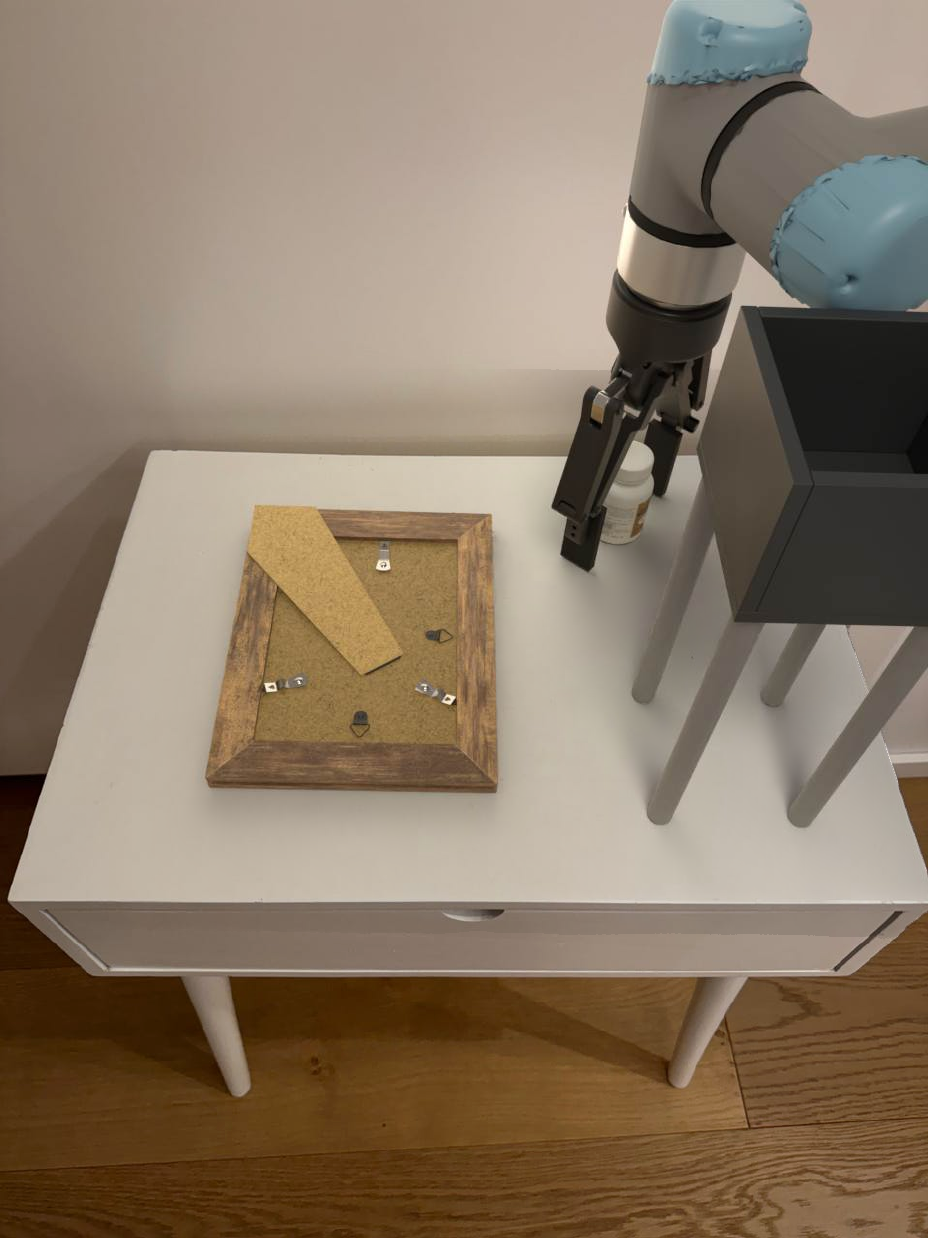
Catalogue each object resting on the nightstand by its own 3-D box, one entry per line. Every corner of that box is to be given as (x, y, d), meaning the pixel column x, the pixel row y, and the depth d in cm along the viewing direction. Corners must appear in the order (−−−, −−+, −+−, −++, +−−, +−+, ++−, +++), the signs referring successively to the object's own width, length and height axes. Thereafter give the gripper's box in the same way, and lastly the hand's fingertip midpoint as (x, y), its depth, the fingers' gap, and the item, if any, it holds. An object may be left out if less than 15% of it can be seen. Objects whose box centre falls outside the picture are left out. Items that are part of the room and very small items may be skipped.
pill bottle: (644, 546, 76) (664, 476, 70) (590, 545, 76) (605, 474, 70) (638, 506, 79) (657, 435, 72) (585, 505, 78) (599, 434, 72)
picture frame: (257, 520, 76) (208, 789, 62) (254, 504, 75) (203, 775, 60) (490, 527, 77) (496, 794, 62) (492, 511, 75) (498, 781, 61)
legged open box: (785, 683, 68) (989, 313, 44) (822, 834, 61) (1090, 492, 37) (624, 680, 68) (740, 304, 44) (642, 831, 61) (794, 484, 37)
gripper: (712, 187, 66) (649, 431, 84) (517, 335, 55) (492, 580, 73) (810, 227, 64) (724, 471, 81) (625, 391, 53) (572, 632, 70)
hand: (614, 522), depth 77 cm, fingers open, 10 cm apart
